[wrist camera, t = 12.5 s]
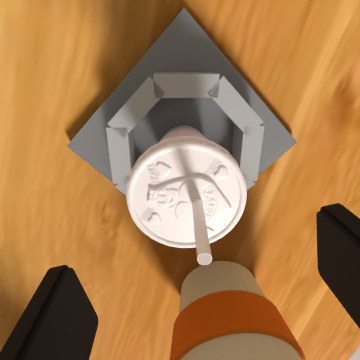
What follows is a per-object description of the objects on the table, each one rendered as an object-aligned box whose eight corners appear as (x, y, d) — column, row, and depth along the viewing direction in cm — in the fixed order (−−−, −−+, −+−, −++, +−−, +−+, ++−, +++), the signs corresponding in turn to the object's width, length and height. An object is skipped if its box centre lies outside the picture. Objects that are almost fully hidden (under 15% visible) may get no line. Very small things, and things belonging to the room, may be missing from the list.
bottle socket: (292, 139, 24) (314, 153, 20) (182, 232, 27) (185, 258, 24) (183, 9, 19) (187, -2, 16) (70, 142, 23) (52, 158, 19)
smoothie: (211, 185, 24) (248, 325, 11) (141, 174, 23) (97, 307, 11) (228, 115, 21) (304, 194, 9) (151, 101, 21) (107, 162, 8)
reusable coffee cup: (145, 302, 32) (128, 486, 18) (207, 229, 27) (246, 396, 14) (226, 337, 35) (264, 515, 21) (292, 277, 31) (391, 449, 17)
